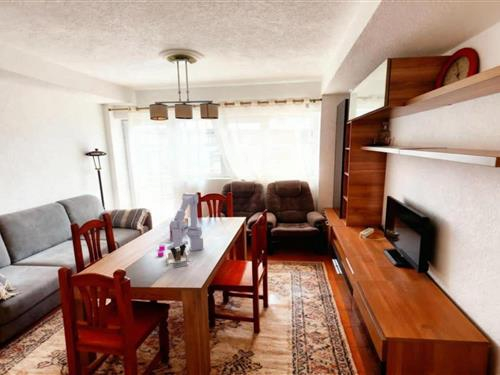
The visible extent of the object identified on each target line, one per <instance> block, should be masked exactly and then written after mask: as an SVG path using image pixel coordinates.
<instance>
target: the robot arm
mask: <svg viewBox="0 0 500 375" xmlns="http://www.w3.org/2000/svg"><path fill="white" fill-rule="evenodd" d="M181 196H182V197H181V199H182V202H181V206H180V208H179V210H178V211H177V212H176V214H175V215H174V218H173V220H171V221H170V224H169V228H170V227H171V231H172V233H173V239H172V244H170V245H168V246H166V250H168V251H170V252H172V254H173V257H174V258H175V259H176V248H179V249H180V254H181V256H183V254H184V250H186V248H187V245H188V244H189V242H190V244H189V250H190V251H191V252H192V251H193V252H194V251H199V250H204V238H203V230H202V227H201V226H200V225H199V224H198V204H199V195H198V193H197V192H184V193H183V194H182V195H181ZM188 206H189V208H190V209H189V211H190V212H189V216H190V217H189V218H190V225H188V231H187V234H186V235H187V237H189V241H188V240H184V241H183V236H182V234H181V228H182V226H183V219H185V217H186V211H187V208H188Z"/></svg>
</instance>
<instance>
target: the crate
mask: <svg viewBox="0 0 500 375" xmlns="http://www.w3.org/2000/svg"><path fill="white" fill-rule="evenodd" d="M165 256H166V257H165V259H166V260H165V261H166V264H167V265H170V264H172V265H173V263H179V262H185V261H189V253H188V251H187V249H185V250H184V254H183V256H181V260H177V261H175V259H174V257H173V254H172V252H171V251H168V252H165Z"/></svg>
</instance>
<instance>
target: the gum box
mask: <svg viewBox="0 0 500 375" xmlns="http://www.w3.org/2000/svg"><path fill="white" fill-rule="evenodd" d="M188 227H189V218H184V219H183V226H182V228H181V234H182V237H184V236H185V235H187V231H188ZM169 239H170V240H173V233H172V231H171V227H170V226H169Z"/></svg>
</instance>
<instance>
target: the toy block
mask: <svg viewBox="0 0 500 375" xmlns="http://www.w3.org/2000/svg"><path fill="white" fill-rule="evenodd" d="M158 246H159V247H158V251H157V257H158V258H159V257H164V255H165V254H164V251H165V250H166V248H165V247H166V245H165V244H162V245H158Z"/></svg>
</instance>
